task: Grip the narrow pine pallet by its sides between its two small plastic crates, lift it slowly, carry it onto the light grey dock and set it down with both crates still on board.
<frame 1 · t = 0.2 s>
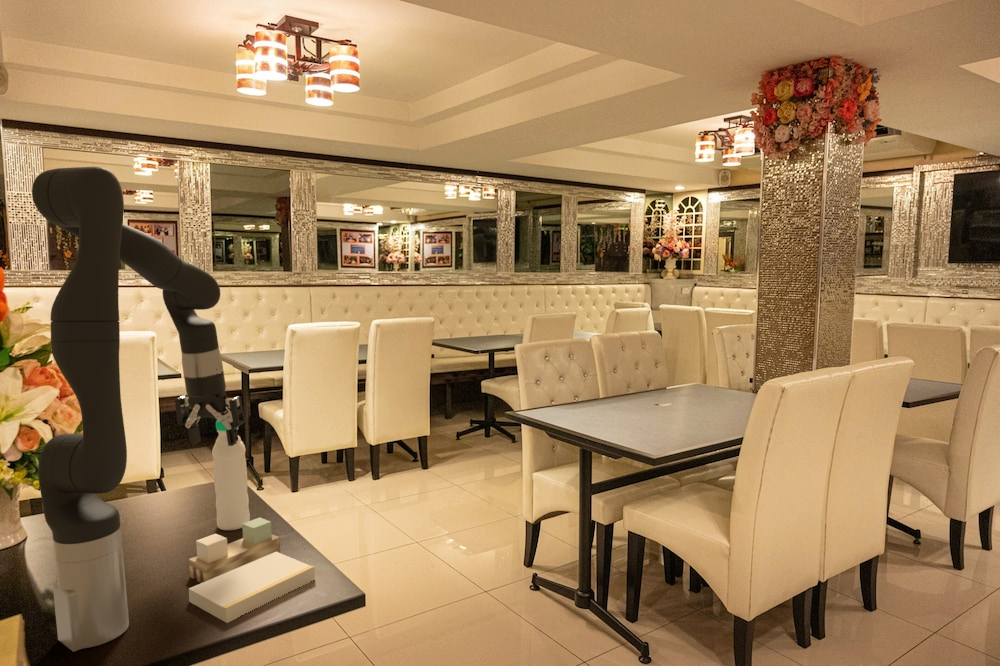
hand: (214, 443, 140), 22 cm above the table, tool pointing down, fingers open, 8 cm apart
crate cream: (212, 556, 127), point 4 cm above the table, touching pallet
water bottle: (233, 526, 151), on the table
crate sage: (257, 539, 134), point 4 cm above the table, touching pallet
dock: (254, 590, 121), on the table
pallet: (237, 566, 131), on the table, touching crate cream, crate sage
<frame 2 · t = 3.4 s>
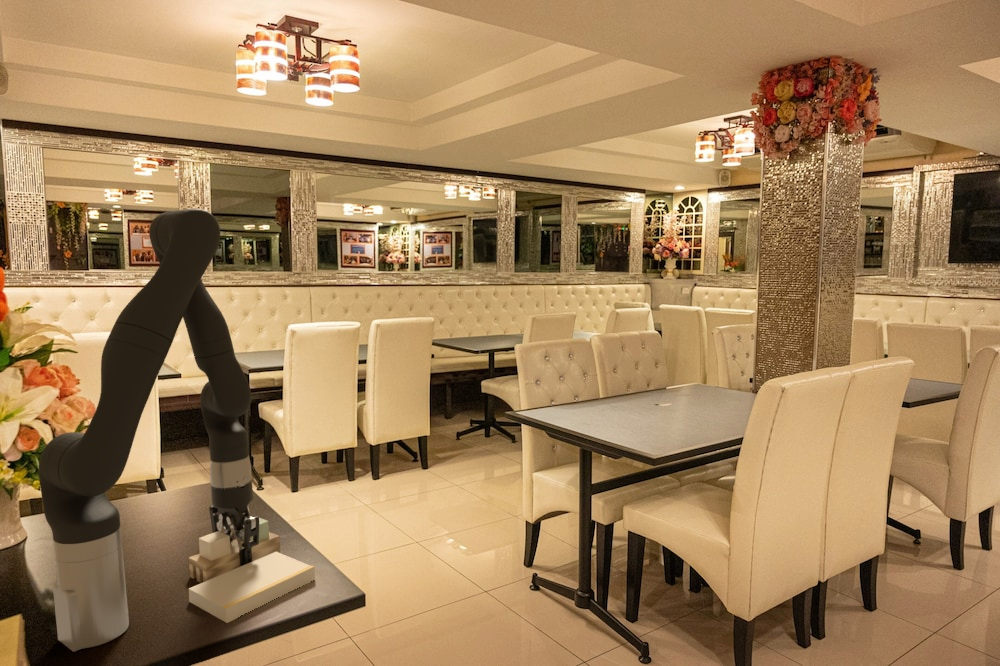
hand: (236, 560, 131), 1 cm above the table, tool pointing down, fingers closed on pallet, 6 cm apart
pallet: (237, 565, 131), on the table, touching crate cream, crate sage, gripper
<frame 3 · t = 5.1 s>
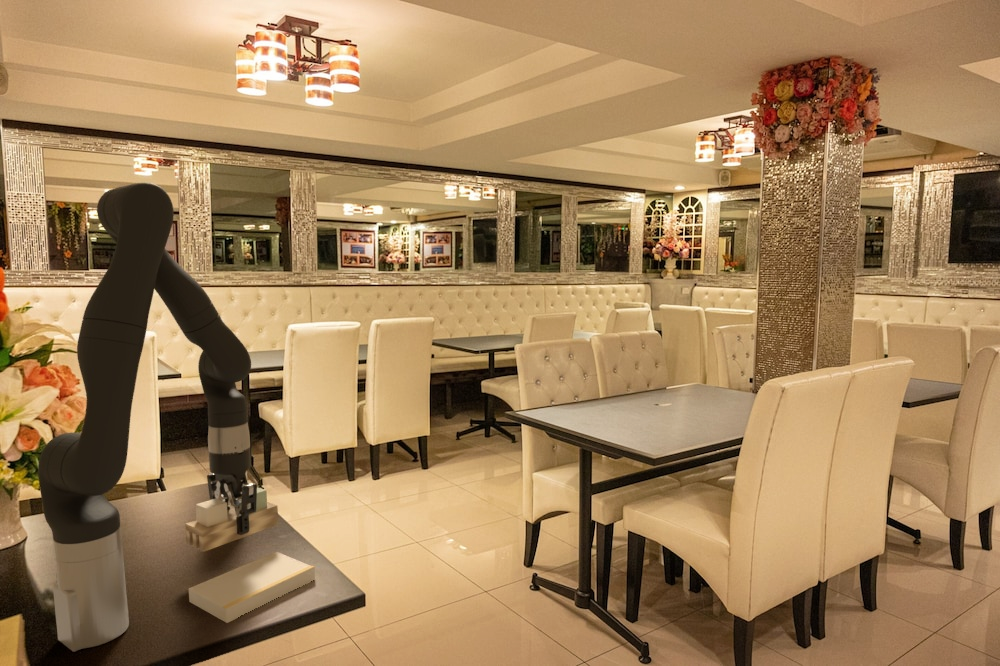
hand: (233, 529, 130), 8 cm above the table, tool pointing down, fingers closed on pallet, 6 cm apart
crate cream: (212, 521, 126), point 11 cm above the table, touching pallet
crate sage: (252, 507, 133), point 11 cm above the table, touching pallet
pallet: (234, 533, 130), point 7 cm above the table, touching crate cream, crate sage, gripper
everything else where it was.
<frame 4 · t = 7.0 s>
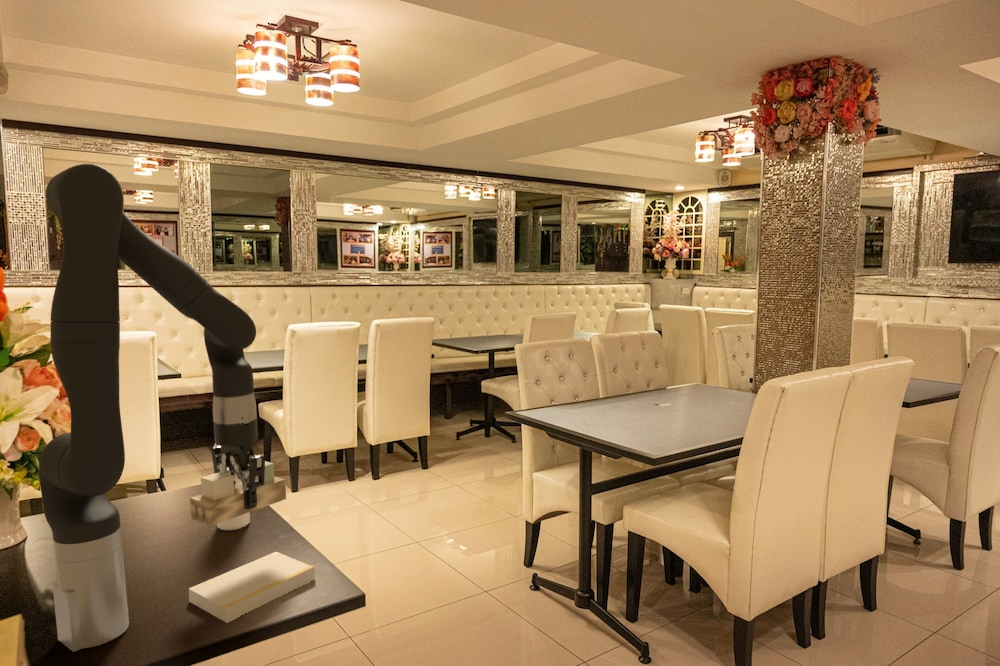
hand: (240, 504, 124), 14 cm above the table, tool pointing down, fingers closed on pallet, 6 cm apart
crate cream: (218, 494, 121), point 18 cm above the table, touching pallet
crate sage: (259, 481, 128), point 18 cm above the table, touching pallet
pallet: (240, 508, 125), point 14 cm above the table, touching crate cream, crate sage, gripper
everything else where it was.
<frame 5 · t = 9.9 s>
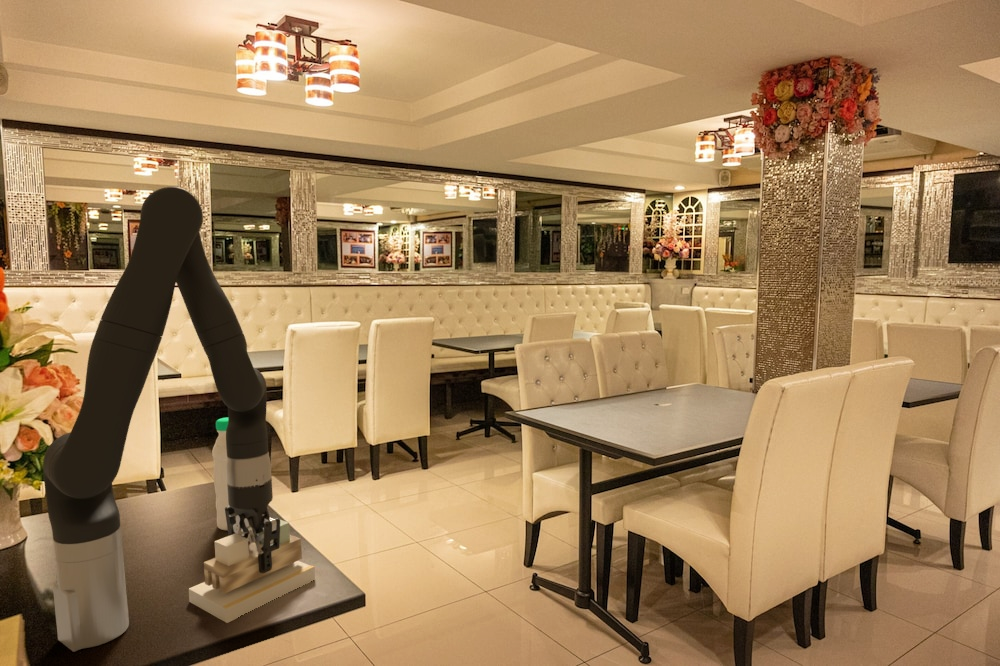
hand: (255, 566, 121), 4 cm above the table, tool pointing down, fingers closed on pallet, 6 cm apart
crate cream: (232, 558, 117), point 8 cm above the table, touching pallet
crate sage: (274, 541, 124), point 8 cm above the table, touching pallet
pallet: (255, 570, 121), point 4 cm above the table, touching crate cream, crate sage, gripper
everything else where it was.
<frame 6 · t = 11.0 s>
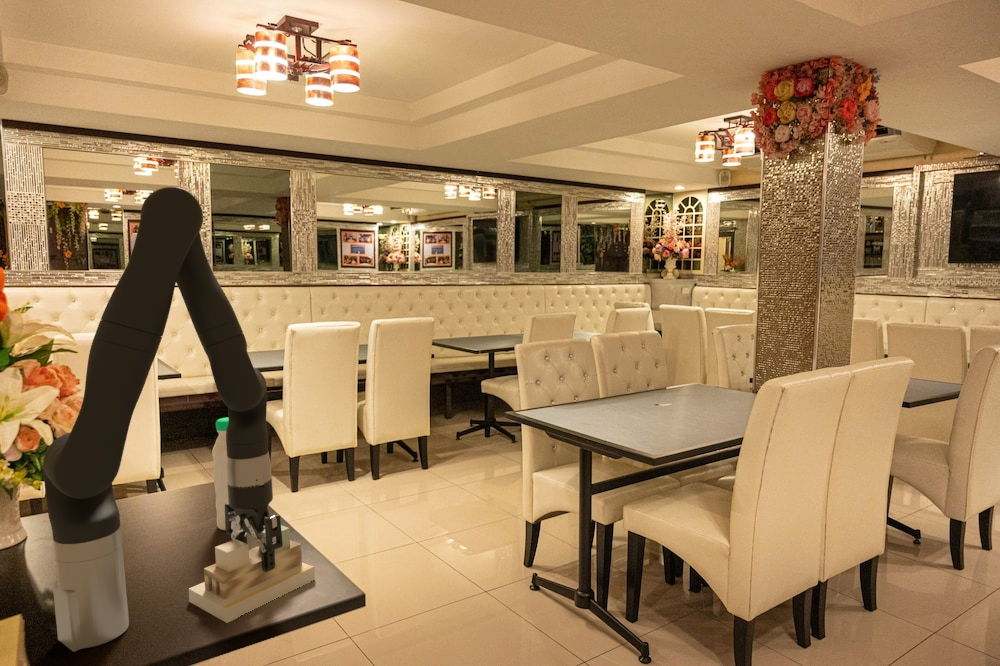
hand: (254, 563, 121), 5 cm above the table, tool pointing down, fingers open, 8 cm apart
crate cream: (232, 564, 117), point 6 cm above the table, touching pallet
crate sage: (274, 547, 124), point 6 cm above the table, touching pallet
pallet: (255, 576, 121), point 2 cm above the table, touching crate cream, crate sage, dock
everything else where it was.
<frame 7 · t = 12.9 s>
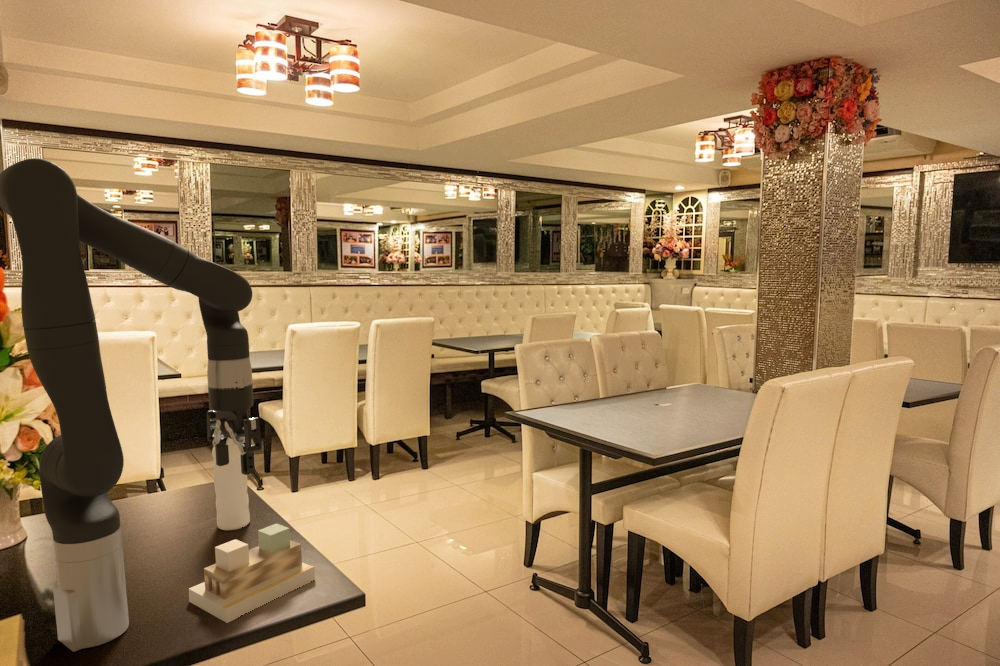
hand: (235, 469, 121), 22 cm above the table, tool pointing down, fingers open, 8 cm apart
nothing on the table moved.
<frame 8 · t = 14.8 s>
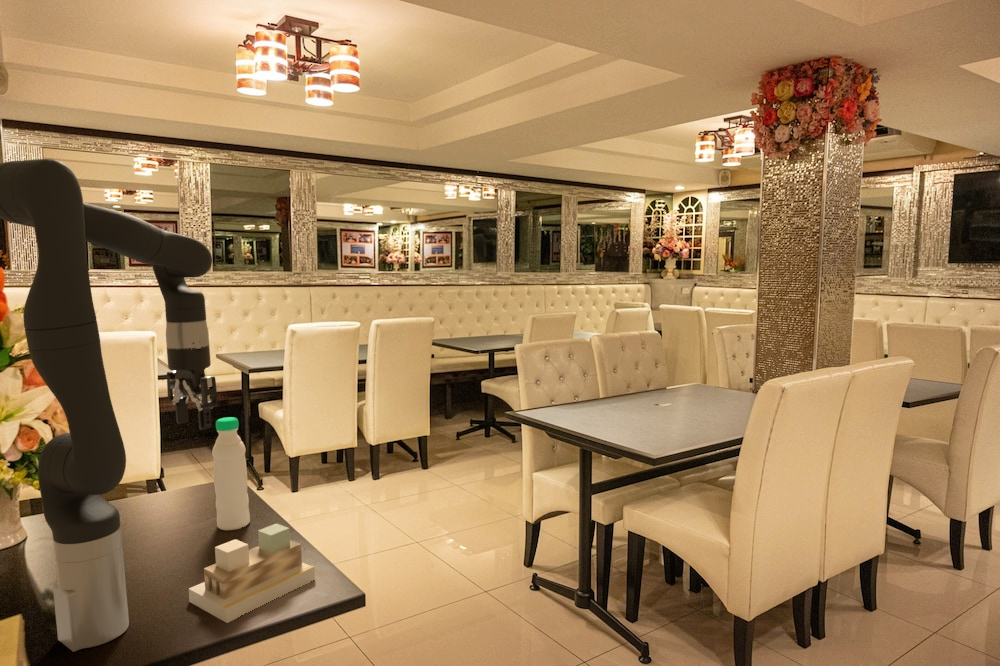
hand: (194, 425, 130), 28 cm above the table, tool pointing down, fingers open, 8 cm apart
nothing on the table moved.
at the end: pallet inside the target area on the dock (0.3 cm from its centre), point 2.5 cm above the dock's base; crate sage touching pallet; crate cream touching pallet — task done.
